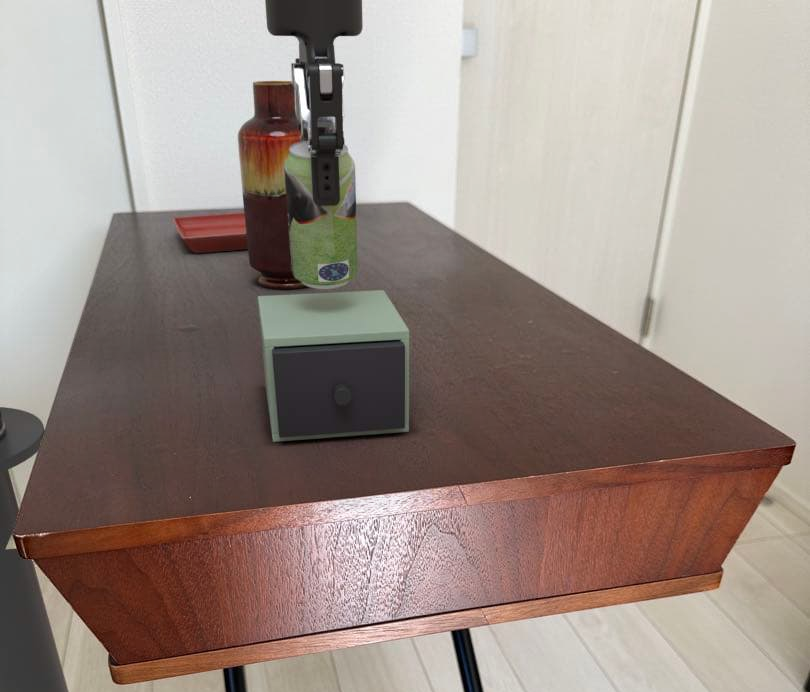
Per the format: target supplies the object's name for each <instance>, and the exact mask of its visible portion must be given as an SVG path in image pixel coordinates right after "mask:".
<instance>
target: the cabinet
mask: <svg viewBox="0 0 810 692" xmlns="http://www.w3.org/2000/svg"><path fill="white" fill-rule="evenodd" d="M257 303H258V316H259V324H260V327H259V328H260V335H261V336H260V338H261V348H262V361H263V372H264V382H265V391H266V399H267V407H268V415H269V423H270V431H271V439H272V442H273V443H277V442H288V441H289V442H290V441H291V442H292V441H300V440H301V441H302V440H303V441H304V440H317V439H329V438H345V437H356V436H357V437H358V436H369V435H384V434H396V433H397V434H398V433H408V432H410V330H409V328H408V326H407V325H406V322H404V320H403V318H402V317H401V315H400V314H399V312H398V310H397V309H396V307H395V305H394V304H393V302H392V300H391V299H390V297H389V296H388V294H387V293H386V291H385V289H376V290H360V291H359V290H357V291H339V292H338V291H337V292H315V293H297V294H295V293H293V294H277V295H276V294H275V295H258V296H257ZM386 340H392V342H399V341H402V342H403V343H404V345H405V428H400V429H387V430H374V431H360V432H347V433H334V434H320V435H307V436H294V437H279V429H278V417H277V405H276V393H275V381H274V369H273V357H272V349H276V347H283V346H300V345H317V344H335V343H352V342H369V341H386Z"/></svg>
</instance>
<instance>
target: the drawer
mask: <svg viewBox="0 0 810 692" xmlns="http://www.w3.org/2000/svg"><path fill="white" fill-rule="evenodd" d="M272 357H273V369H274V381H275V393H276V405H277V417H278V429H279V437H294V436H307V435H320V434H334V433H347V432H360V431H374V430H387V429H400V428H405V345H404V343H403V342H402V341H399V342H392V340H386V341H369V342H352V343H335V344H317V345H300V346H283V347H276V349H272Z"/></svg>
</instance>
